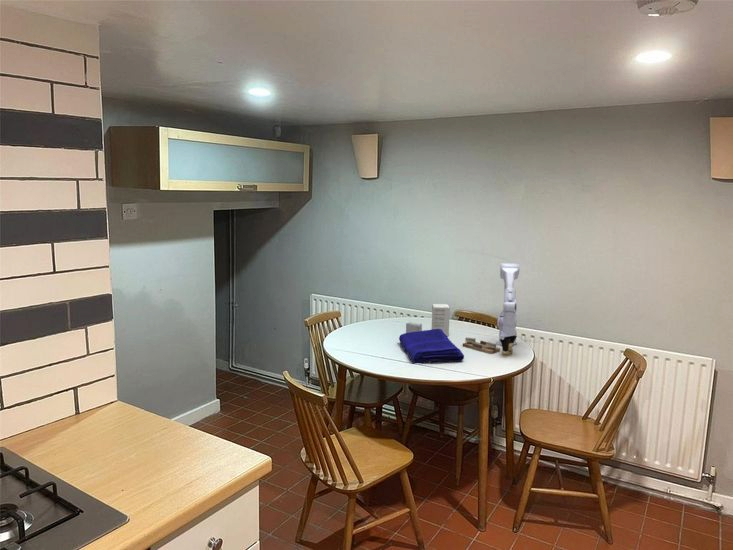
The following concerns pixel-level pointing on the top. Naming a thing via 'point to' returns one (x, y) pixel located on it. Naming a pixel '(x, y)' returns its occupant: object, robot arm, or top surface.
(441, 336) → the towel
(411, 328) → the medicine box
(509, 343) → the wooden block with knob
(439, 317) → the supplement box
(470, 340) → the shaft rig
